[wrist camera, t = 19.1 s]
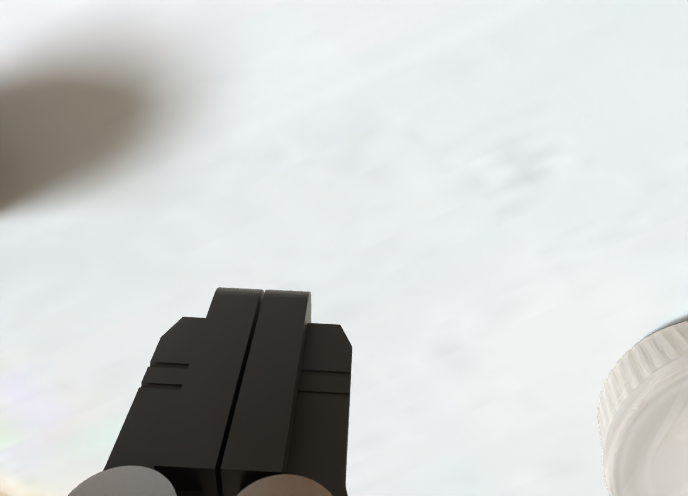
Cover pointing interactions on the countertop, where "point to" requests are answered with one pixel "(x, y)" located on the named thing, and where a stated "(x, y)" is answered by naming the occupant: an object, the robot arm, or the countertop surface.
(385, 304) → the countertop surface
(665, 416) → the ramekin
